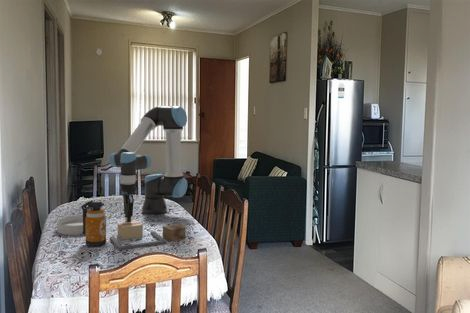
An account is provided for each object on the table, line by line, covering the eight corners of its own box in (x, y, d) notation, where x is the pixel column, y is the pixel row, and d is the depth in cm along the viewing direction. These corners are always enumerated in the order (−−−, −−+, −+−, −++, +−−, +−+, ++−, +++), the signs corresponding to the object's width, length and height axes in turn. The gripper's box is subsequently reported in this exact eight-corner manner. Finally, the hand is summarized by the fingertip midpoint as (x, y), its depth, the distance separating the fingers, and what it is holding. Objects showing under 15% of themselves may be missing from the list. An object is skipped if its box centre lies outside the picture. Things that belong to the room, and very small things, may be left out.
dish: (75, 238, 194) (75, 228, 194) (47, 230, 206) (47, 221, 205) (111, 227, 213) (111, 218, 212) (84, 221, 224) (84, 212, 224)
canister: (99, 247, 180) (99, 203, 178) (77, 245, 183) (76, 202, 180) (109, 241, 189) (109, 199, 187) (88, 239, 191) (87, 198, 189)
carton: (137, 232, 205) (137, 220, 204) (142, 236, 198) (142, 224, 198) (117, 235, 200) (117, 223, 199) (122, 239, 193) (122, 227, 192)
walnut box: (177, 235, 202) (177, 223, 201) (185, 239, 196) (185, 227, 195) (162, 238, 197) (162, 226, 196) (170, 242, 191) (171, 230, 190)
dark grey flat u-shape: (154, 233, 204) (154, 230, 204) (166, 243, 188) (166, 241, 188) (109, 238, 193) (109, 236, 193) (118, 250, 178) (118, 247, 177)
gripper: (117, 181, 206) (118, 226, 208) (123, 185, 195) (123, 233, 197) (132, 180, 210) (132, 225, 212) (139, 184, 198) (139, 231, 201)
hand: (128, 228), depth 205 cm, fingers closed
